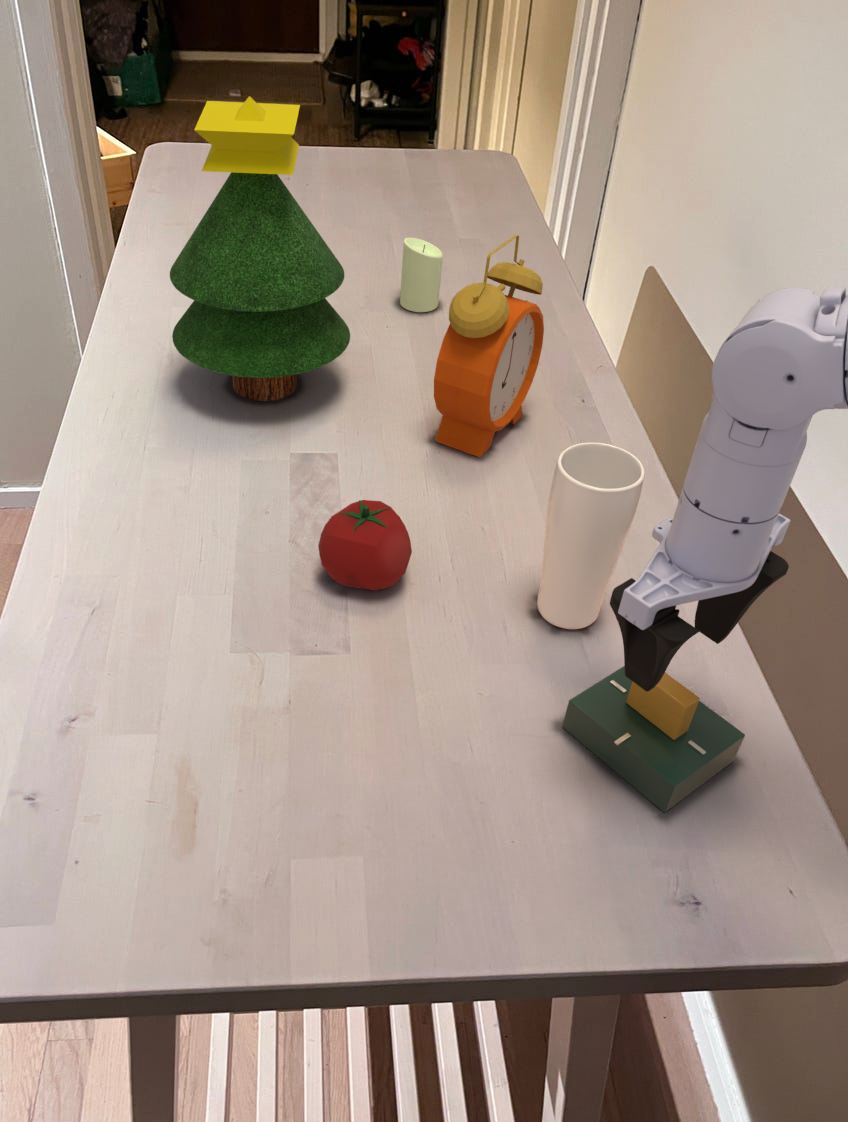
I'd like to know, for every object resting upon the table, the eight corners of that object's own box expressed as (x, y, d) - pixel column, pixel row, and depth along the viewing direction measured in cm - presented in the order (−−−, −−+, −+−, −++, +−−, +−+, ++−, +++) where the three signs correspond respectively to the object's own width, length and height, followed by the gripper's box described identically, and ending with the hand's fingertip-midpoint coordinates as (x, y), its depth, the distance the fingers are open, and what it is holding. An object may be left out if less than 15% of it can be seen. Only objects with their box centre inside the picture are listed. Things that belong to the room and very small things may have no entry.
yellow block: (688, 731, 72) (701, 695, 69) (673, 740, 71) (687, 705, 69) (639, 693, 75) (650, 658, 72) (625, 702, 74) (636, 667, 71)
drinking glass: (511, 604, 86) (538, 458, 76) (566, 576, 89) (599, 431, 79) (567, 649, 82) (603, 501, 72) (622, 618, 85) (665, 472, 75)
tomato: (306, 587, 87) (305, 520, 82) (345, 536, 92) (346, 471, 87) (390, 614, 85) (394, 548, 80) (424, 561, 90) (431, 496, 85)
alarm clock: (478, 466, 102) (503, 276, 88) (425, 447, 104) (442, 259, 90) (533, 411, 110) (564, 230, 96) (484, 395, 112) (507, 216, 99)
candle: (434, 295, 131) (440, 233, 125) (441, 312, 127) (447, 249, 122) (397, 296, 130) (401, 233, 125) (402, 313, 127) (406, 249, 121)
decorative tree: (350, 347, 119) (358, 69, 99) (346, 433, 105) (354, 130, 85) (190, 341, 119) (165, 61, 99) (164, 426, 105) (128, 120, 85)
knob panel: (737, 758, 74) (749, 730, 72) (660, 816, 70) (671, 788, 68) (634, 680, 80) (643, 652, 78) (558, 729, 76) (565, 701, 74)
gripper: (747, 428, 65) (693, 585, 74) (600, 505, 58) (560, 668, 67) (844, 478, 61) (773, 638, 70) (698, 567, 54) (641, 732, 63)
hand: (674, 657), depth 68 cm, fingers open, 7 cm apart
